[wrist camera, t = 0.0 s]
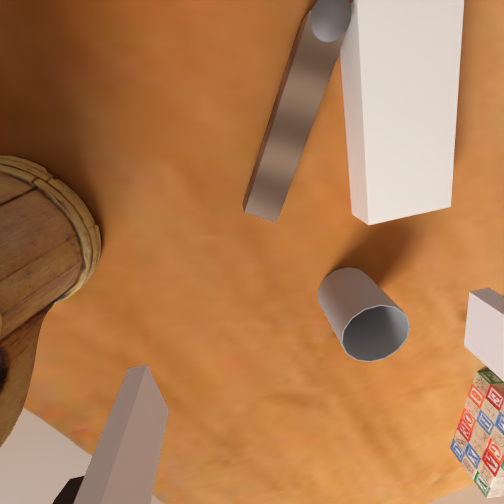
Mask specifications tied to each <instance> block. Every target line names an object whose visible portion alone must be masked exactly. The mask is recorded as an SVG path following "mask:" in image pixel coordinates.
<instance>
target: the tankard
mask: <svg viewBox="0 0 504 504" xmlns="http://www.w3.org/2000/svg"><path fill="white" fill-rule="evenodd" d="M100 254H101V238H100V232H99V227H98V225H96V224H95V221H94V219H93V217H92V216H91V214H90V212H89V210H88V208H87V207H86V205H85V204H84V202H83V201H82V200H81V199H80V197H79V196H78V195H77V194H76V193H75V192H74V191H73V190H72V189H71V188H69V187H68V186H67V185H66V184H65V183H63V182H62V181H61V180H59V179H57V178H55V177H54V176H53V174H51V173H49V172H47V171H46V169H45V168H44V167H42V166H40V165H39V164H37V163H34V162H31V161H29V160H26V159H22V158H19V157H15V156H0V447H1V445H2V444H3V443H4V442H5V440H6V439H7V437H8V436H9V435H10V433H11V431H12V429H13V427H14V425H15V423H16V421H17V419H18V417H19V415H20V413H21V411H22V409H23V406H24V403H25V400H26V397H27V393H28V389H29V385H30V381H31V376H32V371H33V367H34V362H35V355H36V348H37V342H38V336H39V332H40V328H41V325H42V322H43V320H44V318H45V316H46V314H47V312H48V311H49V310H50V308H51V307H52V306H53V305H54V304H56V303H58V302H61V301H64V300H65V299H67V298H69V297H70V296H72V295H73V294H75V293H76V292H77V291H78V290H79V289H80V288H81V287H82V286H83V285H84V284H85V283H86V282H87V280H88V279H89V278H90V277H91V275H92V273H93V271H94V270H95V268H96V266H97V264H98V261H99V258H100Z"/></svg>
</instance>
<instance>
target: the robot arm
mask: <svg viewBox="0 0 504 504" xmlns="http://www.w3.org/2000/svg"><path fill="white" fill-rule="evenodd" d="M464 346H465V347H466V348H467V349H468V350H469V351H471V352H472V353H473V354H474V355H475V356H476V357H477V358H478V359H479V360H480V361H482V362H483V363H484V364H485V365H486V366H487V367H488V368H489V369H490V370H491V371H493V372H494V373H495V374H496V375H497V376H498V377H499V378H500V379H501V380H502V381H504V297H503V296H501V295H500V294H498V293H496V292H495V291H493V290H491V289H490V288H485V289H480V290H476V291H472V292H470V293H469V302H468V312H467V321H466V331H465V340H464ZM168 414H169V411H168V408H167V406H166V404H165V402H164V400H163V398H162V396H161V393H160V391H159V389H158V387H157V385H156V383H155V380H154V378H153V376H152V374H151V372H150V370H149V368H148V365H142V366H138V367H133V368H129V369H128V371H127V373H126V376H125V378H124V381H123V383H122V385H121V388H120V390H119V393H118V395H117V398H116V400H115V403H114V405H113V408H112V410H111V413H110V415H109V417H108V420H107V422H106V425H105V427H104V430H103V432H102V435H101V437H100V440H99V442H98V444H97V447H96V449H95V452H94V454H93V457H92V459H91V462H90V464H89V467H88V469H87V472H86V474H85V476H82V477H77V478H73V479H70V480H69V481H68V482H67V484H66V485H65V486H64V488H63V489H62V490H61V492H60V493H59V495H58V496H57V497H56V499H55V500H54V502H53V504H150V503H151V498H152V494H153V489H154V484H155V479H156V474H157V469H158V464H159V459H160V454H161V449H162V444H163V439H164V434H165V429H166V424H167V419H168Z"/></svg>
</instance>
